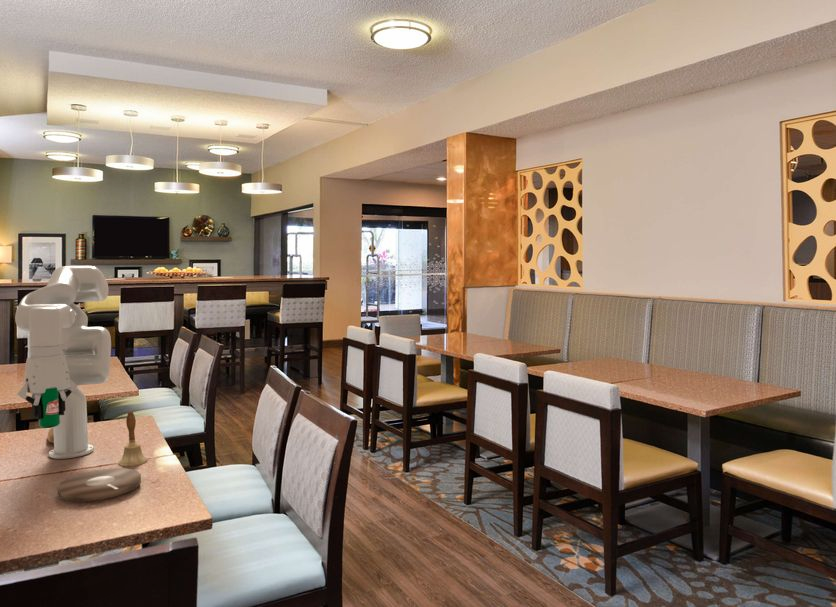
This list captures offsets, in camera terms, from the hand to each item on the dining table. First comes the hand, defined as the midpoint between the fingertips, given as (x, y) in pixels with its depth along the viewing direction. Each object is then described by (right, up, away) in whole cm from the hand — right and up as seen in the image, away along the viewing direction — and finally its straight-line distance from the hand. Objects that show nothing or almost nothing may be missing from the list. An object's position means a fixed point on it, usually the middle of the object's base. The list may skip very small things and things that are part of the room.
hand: (49, 415), depth 167 cm
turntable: (+16, -18, -4) cm, 25 cm away
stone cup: (-20, -16, +44) cm, 51 cm away
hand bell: (+14, -18, +19) cm, 30 cm away
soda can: (0, -3, 0) cm, 3 cm away
